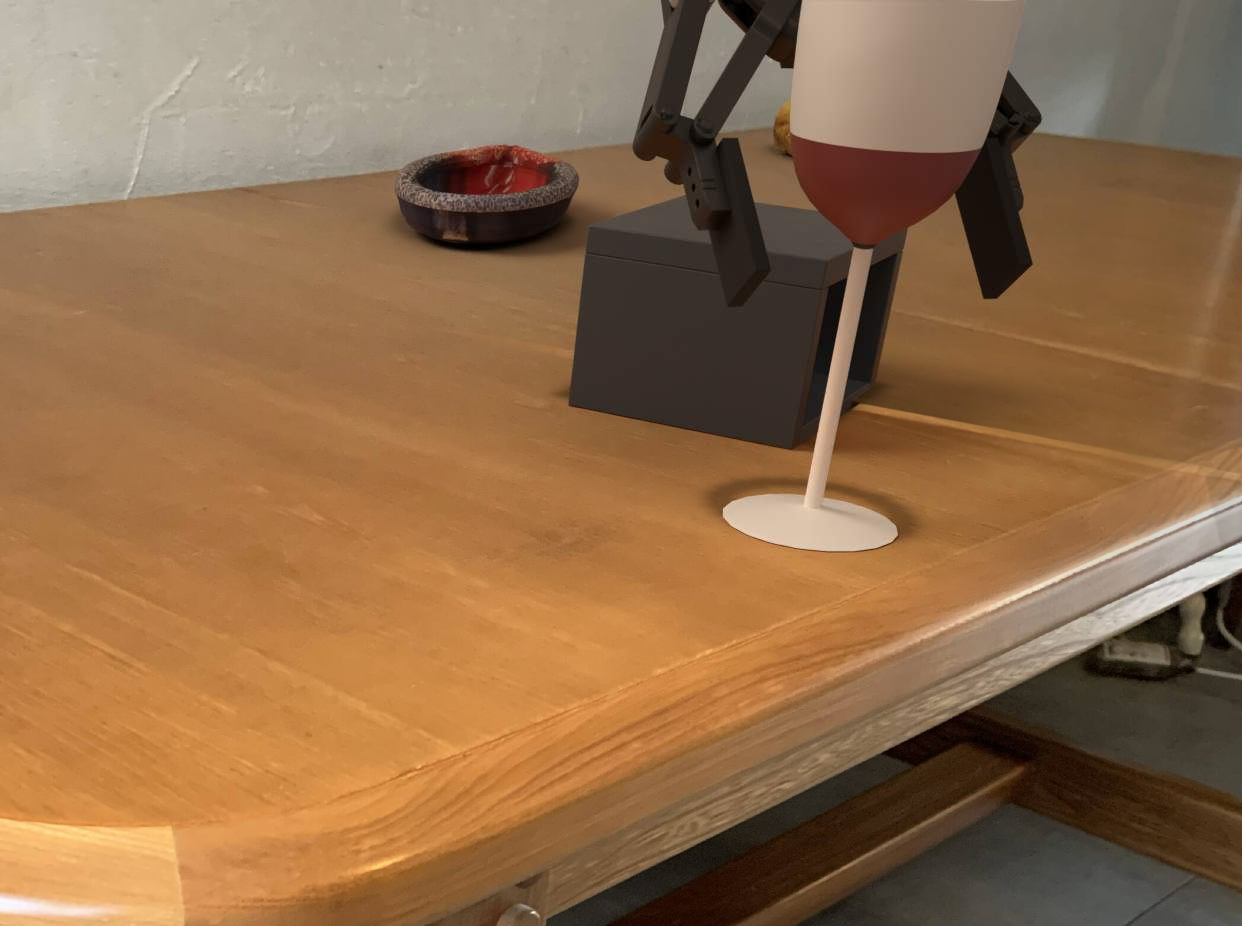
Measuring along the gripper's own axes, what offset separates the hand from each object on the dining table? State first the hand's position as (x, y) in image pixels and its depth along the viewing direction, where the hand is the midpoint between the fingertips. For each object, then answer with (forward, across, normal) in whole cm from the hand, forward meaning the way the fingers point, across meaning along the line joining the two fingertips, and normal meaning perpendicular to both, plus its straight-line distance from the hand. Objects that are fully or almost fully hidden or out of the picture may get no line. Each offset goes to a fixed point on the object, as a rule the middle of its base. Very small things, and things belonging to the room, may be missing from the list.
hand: (881, 286), depth 76 cm
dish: (-48, -14, -65) cm, 82 cm away
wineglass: (+7, 0, -10) cm, 12 cm away
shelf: (-8, -7, -25) cm, 27 cm away
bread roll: (-75, -69, -92) cm, 137 cm away
